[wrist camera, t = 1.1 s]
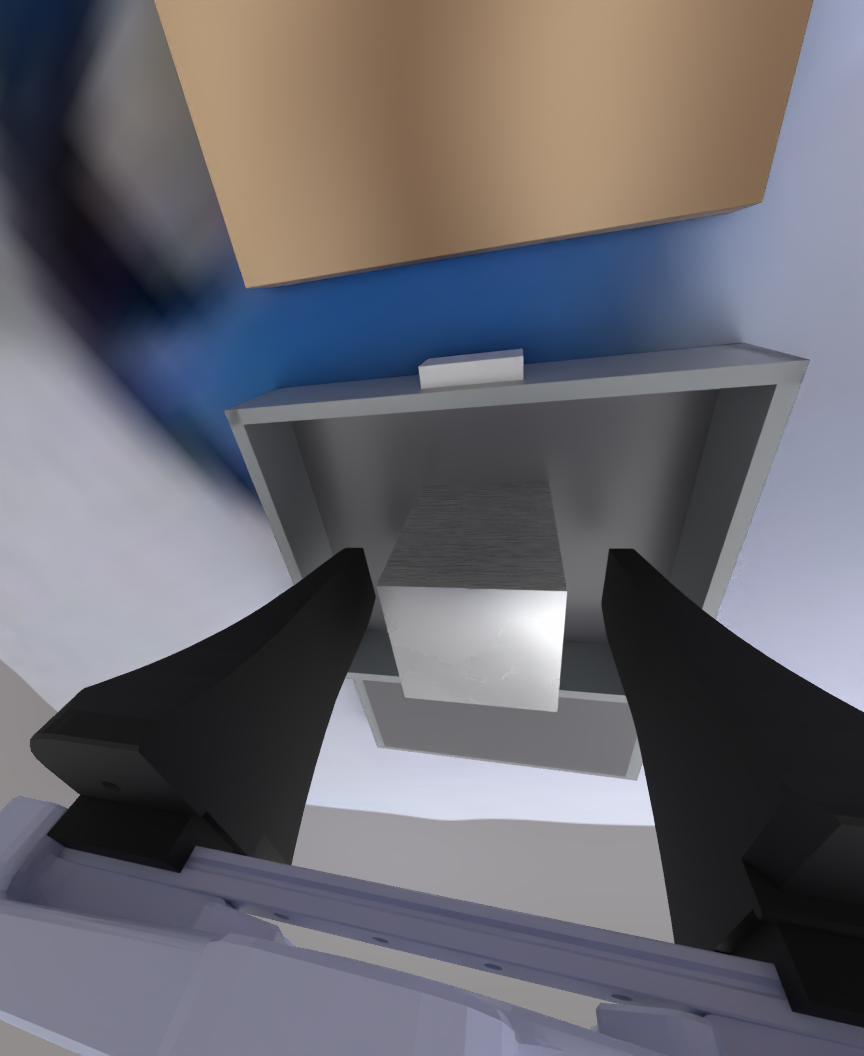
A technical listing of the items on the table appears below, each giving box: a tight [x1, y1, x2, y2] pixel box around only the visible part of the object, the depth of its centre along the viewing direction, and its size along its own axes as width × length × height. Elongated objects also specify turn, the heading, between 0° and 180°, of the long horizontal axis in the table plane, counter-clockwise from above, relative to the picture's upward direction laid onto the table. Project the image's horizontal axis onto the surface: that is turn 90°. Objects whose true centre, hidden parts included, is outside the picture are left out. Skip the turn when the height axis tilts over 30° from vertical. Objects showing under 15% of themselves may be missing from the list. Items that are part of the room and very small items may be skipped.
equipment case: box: [224, 343, 810, 780], centre depth 14 cm, size 13×19×2 cm
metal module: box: [376, 482, 567, 712], centre depth 11 cm, size 4×4×5 cm
